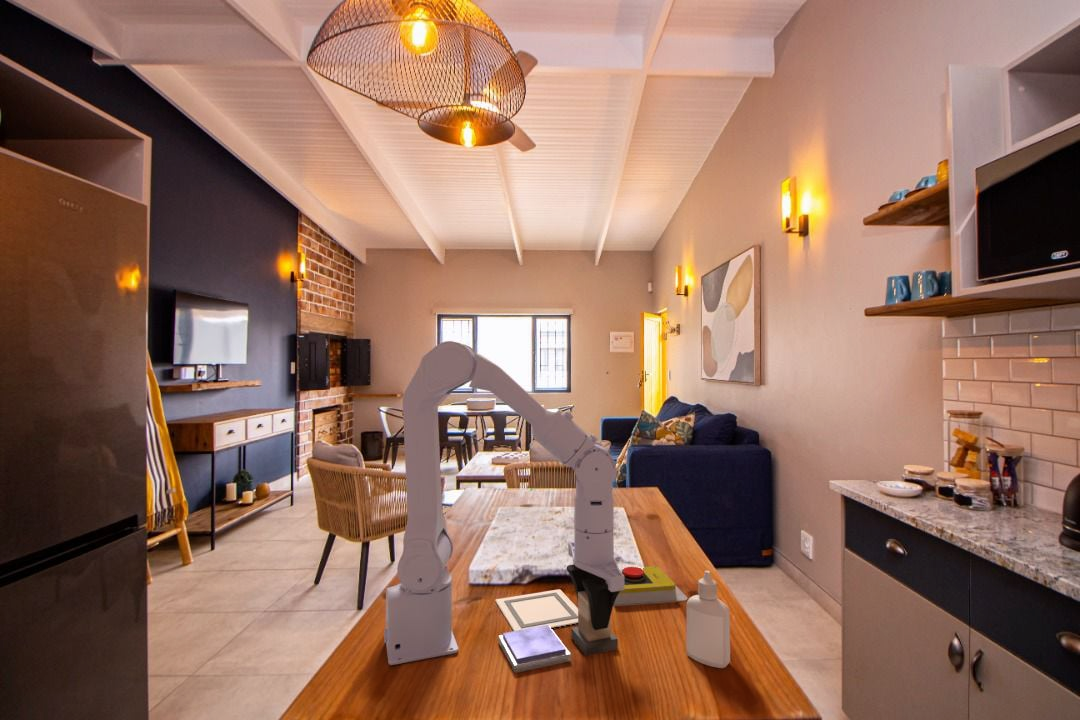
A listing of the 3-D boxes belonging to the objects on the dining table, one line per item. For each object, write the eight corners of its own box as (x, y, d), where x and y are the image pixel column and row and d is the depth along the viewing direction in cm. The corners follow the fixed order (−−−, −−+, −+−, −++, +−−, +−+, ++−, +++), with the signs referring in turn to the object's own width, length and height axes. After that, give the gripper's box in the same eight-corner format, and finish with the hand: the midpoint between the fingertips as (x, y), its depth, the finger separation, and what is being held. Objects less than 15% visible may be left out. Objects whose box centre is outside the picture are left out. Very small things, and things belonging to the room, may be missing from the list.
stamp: (585, 656, 71) (585, 605, 71) (571, 638, 76) (571, 590, 76) (617, 649, 73) (617, 599, 73) (601, 632, 78) (601, 585, 78)
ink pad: (514, 673, 67) (514, 661, 67) (498, 642, 75) (498, 632, 75) (570, 661, 70) (570, 650, 70) (549, 632, 78) (549, 622, 78)
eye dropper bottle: (709, 674, 67) (708, 582, 67) (682, 652, 72) (681, 566, 72) (735, 666, 69) (734, 576, 69) (706, 645, 74) (706, 562, 74)
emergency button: (591, 562, 95) (668, 558, 98) (591, 586, 95) (668, 581, 97) (605, 583, 86) (689, 578, 88) (605, 609, 86) (689, 603, 88)
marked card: (516, 635, 77) (516, 632, 77) (495, 601, 88) (495, 598, 88) (588, 621, 81) (588, 619, 81) (559, 590, 92) (559, 588, 92)
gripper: (644, 539, 69) (644, 641, 69) (596, 511, 83) (596, 596, 83) (597, 546, 67) (597, 650, 67) (556, 516, 81) (556, 602, 80)
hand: (594, 621), depth 75 cm, fingers closed on stamp, 3 cm apart
